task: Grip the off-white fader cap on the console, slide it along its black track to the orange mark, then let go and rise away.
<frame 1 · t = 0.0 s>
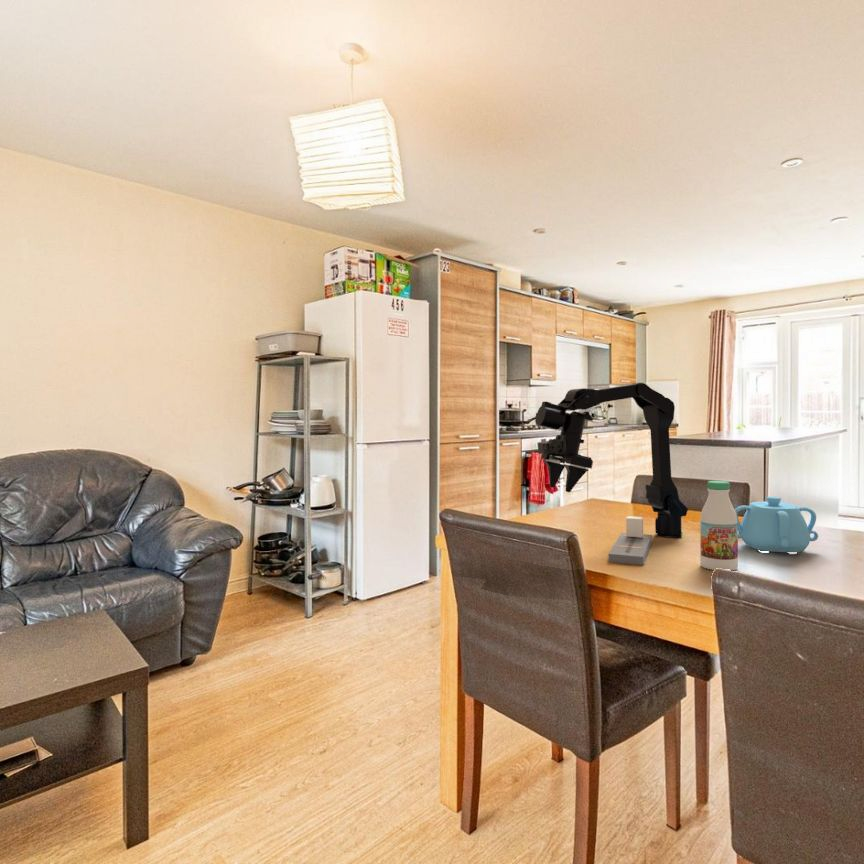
hand: (559, 489, 152), 15 cm above the table, tool pointing down, fingers open, 9 cm apart
milk bottle: (718, 568, 128), on the table
fader cap: (634, 526, 151), point 5 cm above the table, slide at 0.0 cm
console: (631, 551, 144), on the table
decorative pot: (773, 550, 142), on the table
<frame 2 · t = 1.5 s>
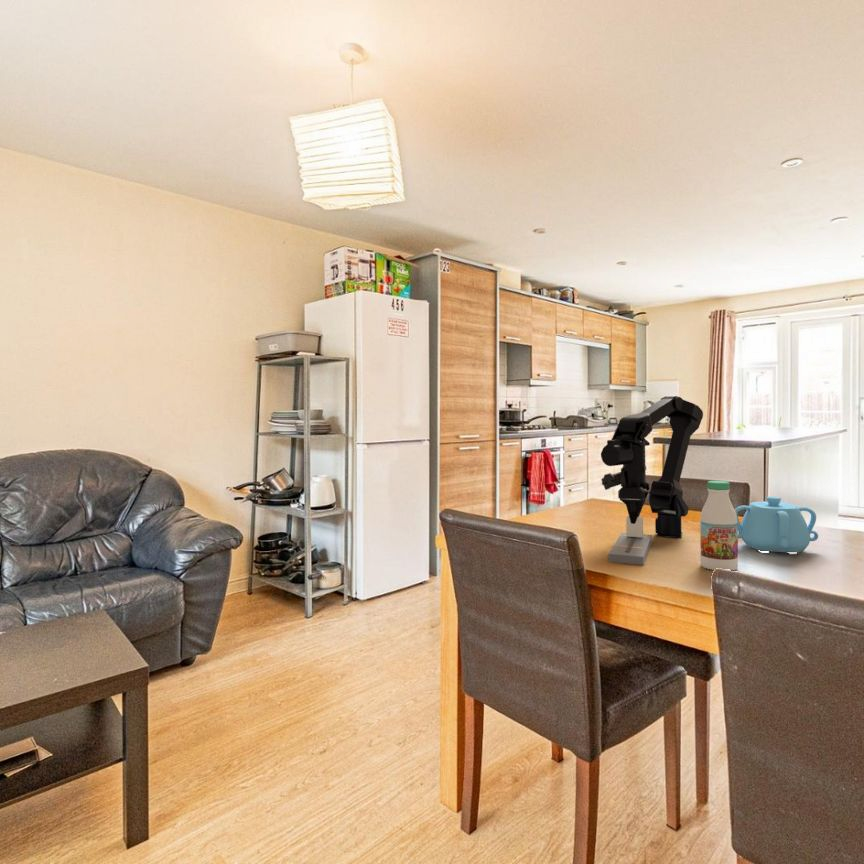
hand: (634, 520, 151), 7 cm above the table, tool pointing down, fingers open, 9 cm apart
nothing on the table moved.
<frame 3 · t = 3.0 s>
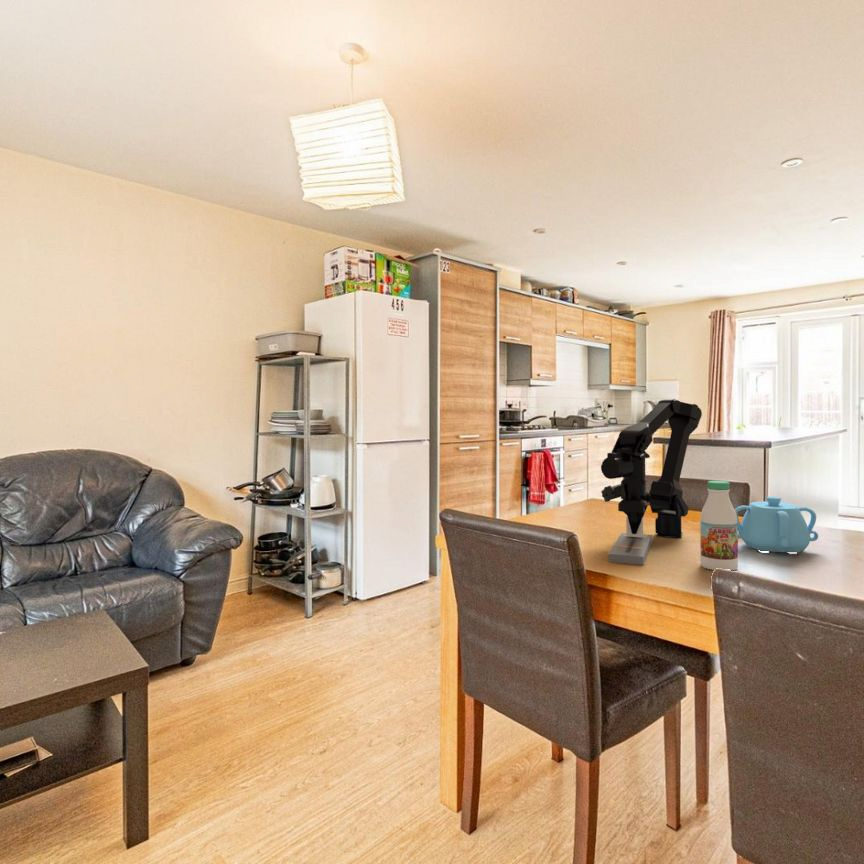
hand: (634, 532, 151), 3 cm above the table, tool pointing down, fingers closed on fader cap, 3 cm apart
fader cap: (634, 526, 151), point 5 cm above the table, slide at 0.0 cm, touching gripper
everything else where it was.
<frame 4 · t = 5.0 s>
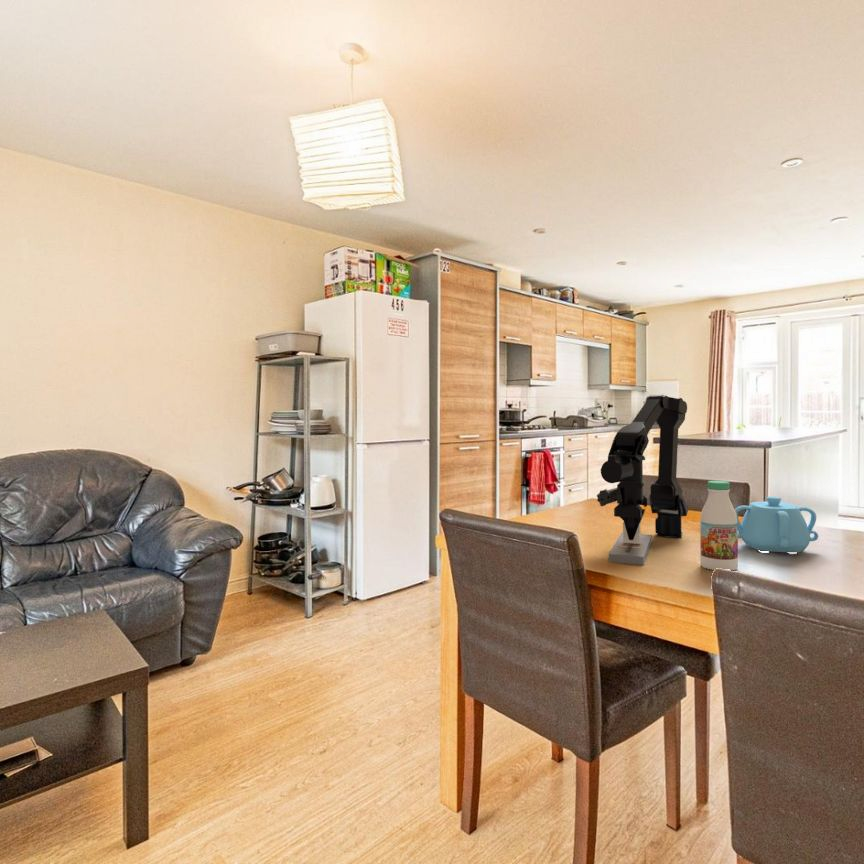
hand: (631, 538, 145), 3 cm above the table, tool pointing down, fingers closed on fader cap, 3 cm apart
fader cap: (631, 532, 145), point 5 cm above the table, slide at 7.2 cm, touching gripper
everything else where it was.
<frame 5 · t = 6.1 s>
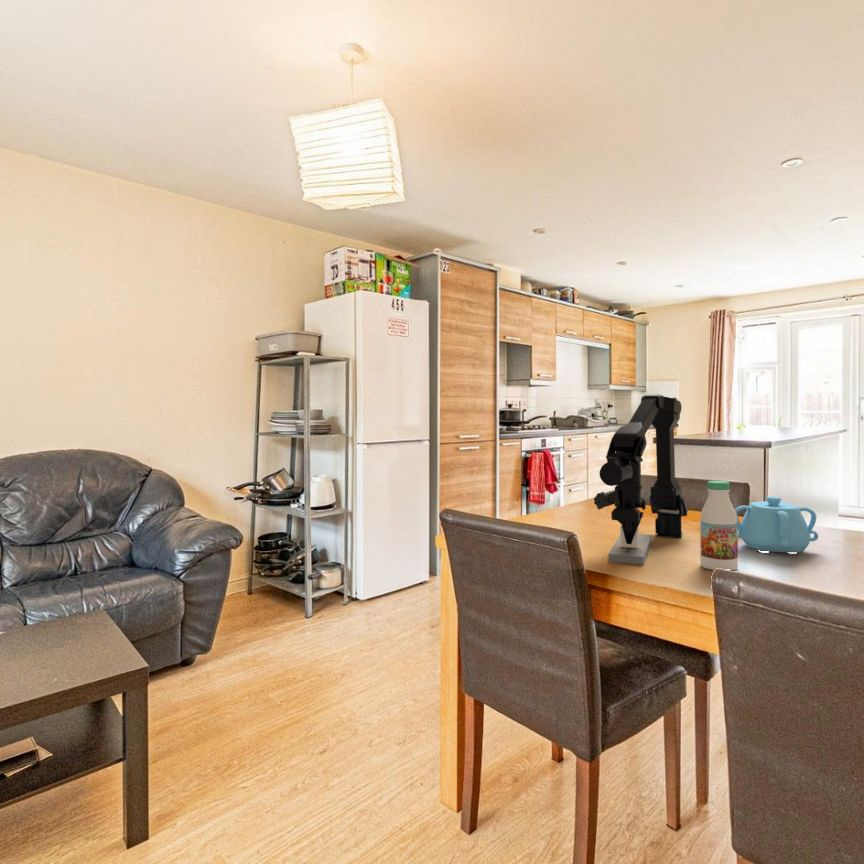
hand: (629, 542, 141), 3 cm above the table, tool pointing down, fingers closed on fader cap, 3 cm apart
fader cap: (629, 536, 141), point 5 cm above the table, slide at 11.8 cm, touching gripper
everything else where it was.
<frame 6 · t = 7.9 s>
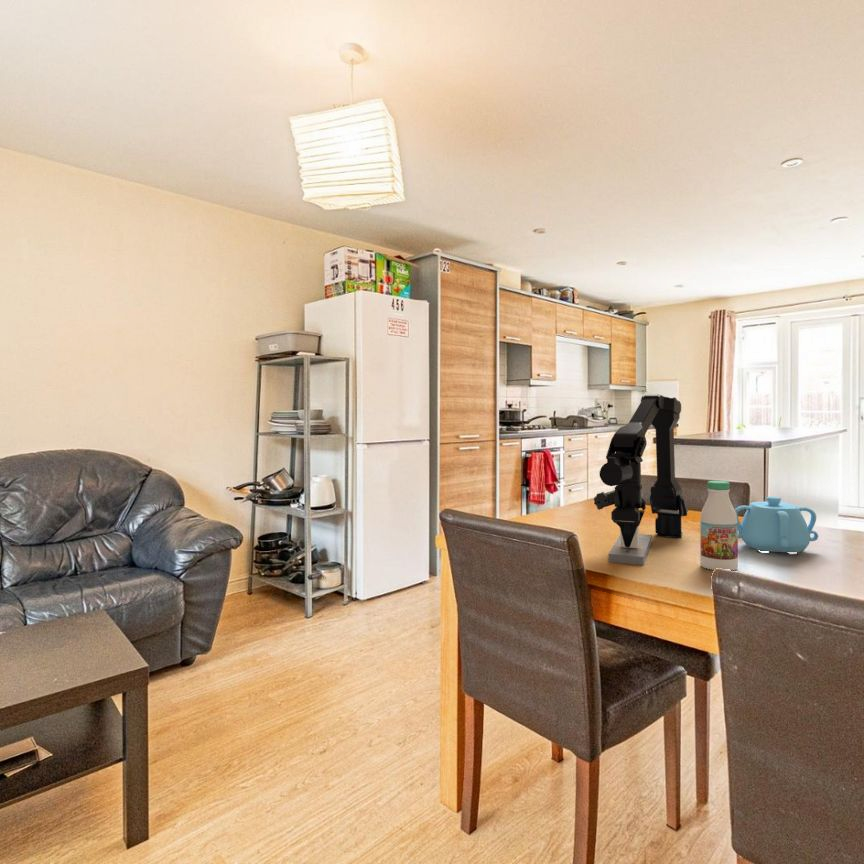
hand: (629, 542, 141), 3 cm above the table, tool pointing down, fingers open, 9 cm apart
fader cap: (629, 536, 141), point 5 cm above the table, slide at 12.0 cm
everything else where it was.
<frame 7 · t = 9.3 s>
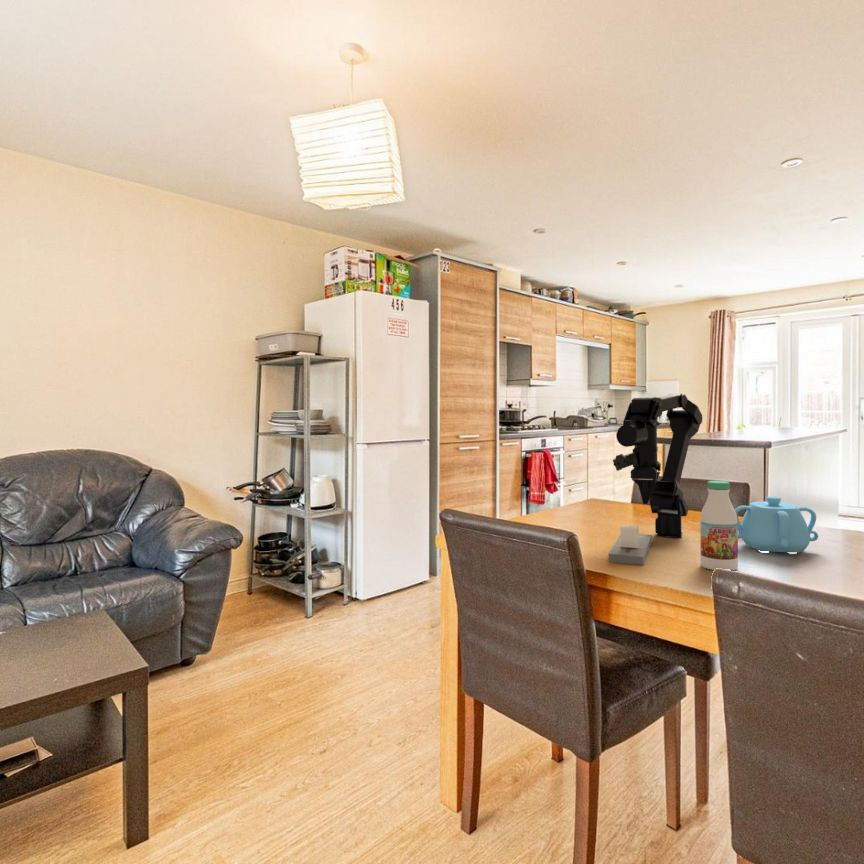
hand: (646, 500, 151), 12 cm above the table, tool pointing down, fingers open, 9 cm apart
nothing on the table moved.
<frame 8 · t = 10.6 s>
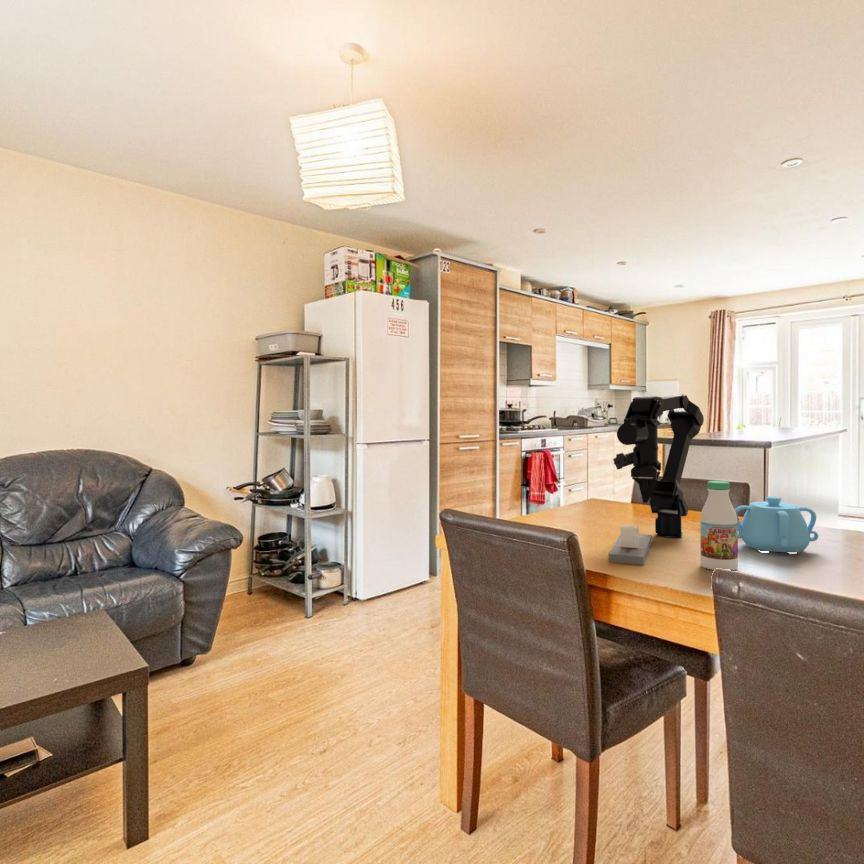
hand: (646, 499, 152), 12 cm above the table, tool pointing down, fingers open, 9 cm apart
nothing on the table moved.
at the end: fader cap slide at 12.0 cm; the gripper is holding nothing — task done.
